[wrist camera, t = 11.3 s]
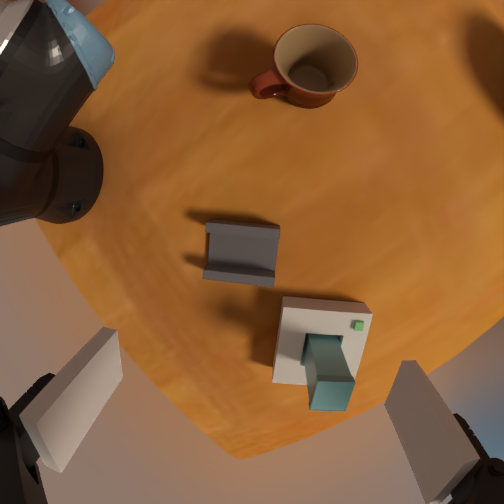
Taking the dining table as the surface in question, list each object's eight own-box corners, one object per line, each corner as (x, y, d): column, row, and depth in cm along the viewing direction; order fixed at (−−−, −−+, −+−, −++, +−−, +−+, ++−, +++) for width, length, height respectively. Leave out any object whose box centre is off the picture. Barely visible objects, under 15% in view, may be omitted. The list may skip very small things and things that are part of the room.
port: (272, 367, 45) (272, 385, 40) (282, 295, 42) (283, 308, 38) (347, 371, 44) (353, 388, 40) (364, 302, 41) (374, 315, 37)
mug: (320, 50, 34) (332, 15, 24) (350, 103, 36) (372, 80, 26) (240, 80, 36) (230, 50, 26) (269, 135, 38) (267, 119, 28)
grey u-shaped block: (208, 271, 42) (202, 278, 39) (211, 219, 40) (205, 222, 37) (273, 278, 42) (273, 286, 38) (279, 225, 40) (280, 229, 37)
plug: (301, 348, 44) (309, 409, 30) (306, 323, 43) (317, 381, 29) (328, 350, 44) (345, 410, 30) (334, 326, 43) (355, 382, 29)
